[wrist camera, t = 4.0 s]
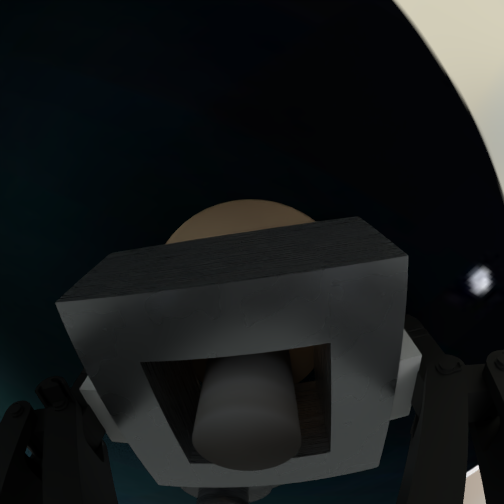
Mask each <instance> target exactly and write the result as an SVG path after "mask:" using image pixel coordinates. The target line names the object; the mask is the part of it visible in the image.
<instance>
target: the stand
mask: <svg viewBox="0 0 504 504" xmlns="http://www.w3.org/2000/svg"><path fill="white" fill-rule="evenodd" d="M311 222H316V221H314V220H313V219H312V218H310V217H309V216H307V215H306V214H304V213H302V212H300V211H298V210H296V209H294V208H292V207H290V206H287V205H284V204H281V203H278V202H273V201H267V200H258V199H243V200H233V201H229V202H224V203H220V204H217V205H215V206H212V207H209V208H207V209H205V210H203V211H201V212H199V213H198V214H196V215H194V216H193V217H191V218H190V219H189V220H187V221H186V222H185V223H183V224H182V225H181V226H180V227H179V228H178V229H177V230H176V231H175V232H174V234H173V235H172V236H171V237H170V239H169V240H168V241H167V243H166V244H170V243H176V242H183V241H189V240H195V239H202V238H208V237H215V236H221V235H228V234H235V233H241V232H248V231H255V230H262V229H269V228H276V227H283V226H290V225H297V224H304V223H311ZM192 363H193V366H194V369H195V372H196V374H197V377H198V380H200V381H201V382H202V383H203V384H202V389H201V394H200V399H199V404H198V409H197V414H196V419H195V424H194V429H193V434H192V443H193V446H194V448H195V449H196V451H197V452H198V453H199V454H200V455H201V456H202V457H203V458H205V459H206V460H208V461H209V462H211V463H213V464H216V465H218V466H221V467H224V468H228V469H233V470H240V471H257V470H264V469H269V468H273V467H276V466H279V465H281V464H283V463H285V462H287V461H288V460H290V459H291V458H292V457H294V456H295V455H296V453H297V452H298V451H299V449H300V446H301V432H300V425H299V417H298V410H297V403H296V395H295V388H294V384H297V383H299V382H300V381H301V380H303V379H304V378H305V377H306V376H307V375H308V374H309V373H310V372H311V371H312V370H313V368H314V353H313V346H307V347H300V348H294V349H287V350H279V351H272V352H264V353H256V354H247V355H238V356H228V357H217V358H205V359H192Z"/></svg>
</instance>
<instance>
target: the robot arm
mask: <svg viewBox="0 0 504 504" xmlns="http://www.w3.org/2000/svg"><path fill="white" fill-rule="evenodd" d="M35 392H36V394H37V396H38V397H39V399H40V400H41V402H42V403H43V405H44V407H45V408H44V409H37V410H34V409H33V408H32V406H31V405H30V403H28V402H27V401H23V400H22V401H17V402H15V403H13V404H12V405H11V406H10V407H9V408H8V409H7V411H6V412H5V414H4V417H3V419H2V421H1V423H0V504H118V501H117V497H116V492H115V488H114V483H113V478H112V473H111V468H110V463H109V457H108V452H107V446H106V444H105V442H104V441H103V436H104V434H105V432H106V433H107V435H108V436H109V438H110V439H111V441H113V442H123V443H128V442H127V440H126V439H125V437H124V436H123V434H122V433H121V431H120V430H119V428H118V426H117V425H116V423H115V422H114V420H113V418H112V417H111V415H110V413H109V412H108V410H107V408H106V407H105V405H104V403H103V402H102V400H101V398H100V396H99V395H98V393H97V391H96V389H95V387H94V385H93V384H92V382H91V380H90V378H89V376H88V374H87V372H86V370H85V368H84V369H83V370H82V372H81V375H79V377H78V378H77V380H76V381H75V383H74V384H73V386H72V388H71V389H70V388H69V386H68V384H67V382H66V381H65V379H64V378H62V377H59V376H54V377H50V378H47V379H45V380H44V381H42V382H41V383H40V384H39V385H38V386H37V387H36V390H35ZM411 404H412V406H413V408H414V410H415V412H416V414H415V418H414V421H413V425H412V428H411V431H410V433H412V435H411V441H410V446H409V451H408V456H407V461H406V466H405V470H404V475H403V479H402V483H401V487H400V491H399V495H398V499H397V502H396V504H463V499H464V491H465V481H466V470H467V455H468V426H469V429H470V433H471V436H472V440H473V444H474V448H475V452H476V456H477V460H478V465H479V469H480V473H481V479H482V483H483V488H484V494H485V499H486V504H504V350H497V351H494V352H492V353H491V354H489V355H488V357H487V360H486V363H485V364H477V365H465V364H464V362H463V361H462V360H461V359H459V358H457V357H455V356H452V355H445V354H444V352H443V351H442V350H441V348H440V347H439V346H438V344H437V343H436V342H435V341H434V339H433V338H432V337H431V335H429V333H428V332H427V330H426V329H424V327H423V325H422V324H421V323H420V322H419V320H418V319H416V318H414V317H412V316H411V315H409V314H406V315H405V321H404V331H403V341H402V349H401V357H400V364H399V371H398V377H397V383H396V389H395V395H394V400H393V406H392V411H391V416H390V420H393V419H397V418H400V417H404V416H407V415H409V412H410V408H411ZM26 448H28V449H29V450H30V451H31V452H32V455H31V457H28V456H27V455H26V453H25V451H26Z"/></svg>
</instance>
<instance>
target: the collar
mask: <svg viewBox="0 0 504 504" xmlns="http://www.w3.org/2000/svg"><path fill="white" fill-rule="evenodd" d="M407 278H408V255H407V254H406V253H404V252H403V251H402V250H401V249H400V248H398V247H397V246H396V245H395V244H393V243H392V242H391V241H390V240H388V239H387V238H386V237H385V236H383V235H382V234H381V233H379V232H378V231H377V230H376V229H374V228H373V227H372V226H370V225H369V224H368V223H366V222H365V221H364V220H363V219H361V218H360V217H359V216H356V217H348V218H341V219H333V220H326V221H319V222H311V223H304V224H297V225H290V226H283V227H276V228H269V229H262V230H255V231H248V232H241V233H235V234H228V235H221V236H215V237H208V238H202V239H195V240H189V241H183V242H176V243H170V244H164V245H158V246H151V247H145V248H139V249H133V250H127V251H121V252H115V253H110V254H109V255H108V256H107V257H106V258H105V259H103V260H102V261H101V262H100V263H99V264H98V265H96V266H95V267H94V268H93V269H92V270H91V271H90V272H88V273H87V274H86V275H85V276H84V277H83V278H82V279H80V280H79V281H78V282H77V283H76V284H75V285H74V286H73V287H72V288H70V289H69V290H68V291H67V292H66V293H65V294H64V295H63V296H62V297H61V298H60V299H59V300H57V301H56V302H55V304H56V306H57V309H58V311H59V314H60V316H61V318H62V321H63V323H64V326H65V328H66V330H67V332H68V335H69V337H70V339H71V341H72V344H73V346H74V348H75V350H76V352H77V354H78V356H79V358H80V360H81V362H82V364H83V366H84V368H85V370H86V372H87V374H88V376H89V378H90V380H91V382H92V384H93V385H94V387H95V389H96V391H97V393H98V395H99V396H100V398H101V400H102V402H103V403H104V405H105V407H106V408H107V410H108V412H109V413H110V415H111V417H112V418H113V420H114V422H115V423H116V425H117V426H118V428H119V430H120V431H121V433H122V434H123V436H124V437H125V439H126V440H127V442H128V443H129V445H130V446H131V448H132V449H133V451H134V452H135V454H136V455H137V456H138V458H139V459H140V461H141V462H142V463H143V465H144V466H145V467H146V469H147V470H148V471H149V473H150V474H151V475H152V477H153V478H154V479H155V481H156V482H157V483H158V485H165V486H180V487H213V488H219V487H252V486H267V485H278V484H288V483H296V482H304V481H311V480H317V479H323V478H329V477H335V476H340V475H345V474H350V473H354V472H359V471H363V470H367V469H371V468H375V467H378V465H379V462H380V458H381V454H382V450H383V446H384V442H385V438H386V434H387V429H388V425H389V420H390V416H391V411H392V406H393V400H394V395H395V389H396V383H397V377H398V371H399V364H400V357H401V349H402V341H403V331H404V321H405V310H406V296H407ZM307 346H313V353H314V370H315V381H310V382H304V383H297V384H294V388H295V395H296V403H297V410H298V417H299V425H300V432H301V446H300V449H299V451H298V452H297V453H296V455H295V456H294V457H292V458H291V459H290V460H288V461H287V462H285V463H283V464H281V465H279V466H276V467H273V468H269V469H264V470H257V471H240V470H233V469H228V468H224V467H221V466H218V465H216V464H213V463H211V462H209V461H208V460H206V459H205V458H203V457H202V456H201V455H200V454H199V453H198V452H197V451H196V449H195V448H194V446H193V443H192V434H193V429H194V424H195V419H196V414H197V409H198V404H199V399H200V394H201V386H200V383H199V380H198V377H197V374H196V372H195V369H194V366H193V363H192V359H205V358H217V357H228V356H238V355H247V354H256V353H264V352H272V351H279V350H287V349H294V348H300V347H307Z"/></svg>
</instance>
